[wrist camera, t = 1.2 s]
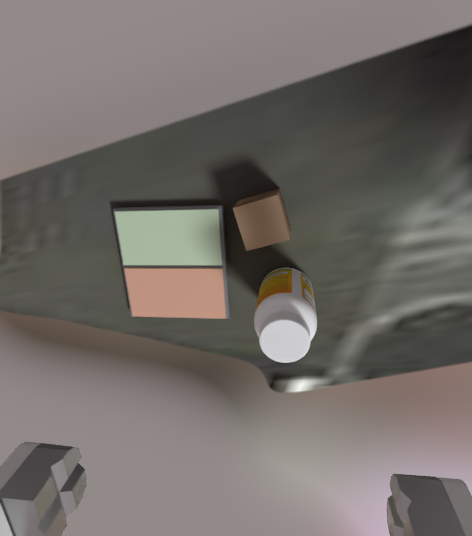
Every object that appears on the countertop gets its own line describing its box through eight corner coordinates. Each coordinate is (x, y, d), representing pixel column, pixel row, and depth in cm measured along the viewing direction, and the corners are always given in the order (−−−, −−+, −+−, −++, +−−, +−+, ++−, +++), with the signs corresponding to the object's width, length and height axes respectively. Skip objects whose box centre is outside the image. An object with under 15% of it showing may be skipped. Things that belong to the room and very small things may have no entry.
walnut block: (279, 187, 33) (277, 194, 30) (290, 227, 35) (290, 239, 31) (239, 199, 34) (232, 208, 31) (251, 238, 36) (246, 251, 32)
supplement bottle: (252, 302, 38) (240, 356, 29) (271, 258, 36) (264, 300, 27) (300, 321, 38) (302, 380, 29) (321, 278, 36) (331, 327, 27)
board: (223, 204, 35) (221, 207, 34) (230, 315, 39) (228, 320, 38) (116, 207, 36) (111, 209, 35) (134, 313, 41) (130, 317, 40)
